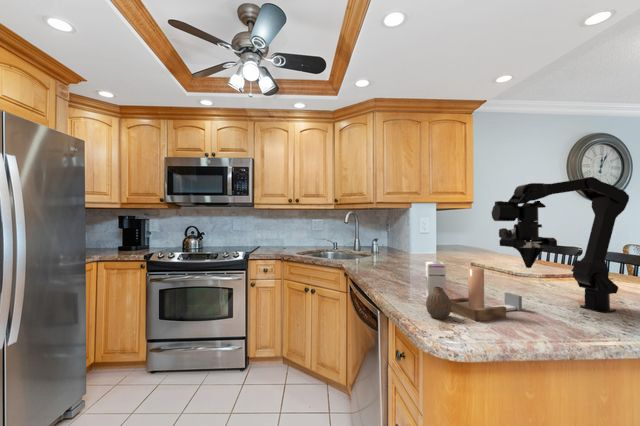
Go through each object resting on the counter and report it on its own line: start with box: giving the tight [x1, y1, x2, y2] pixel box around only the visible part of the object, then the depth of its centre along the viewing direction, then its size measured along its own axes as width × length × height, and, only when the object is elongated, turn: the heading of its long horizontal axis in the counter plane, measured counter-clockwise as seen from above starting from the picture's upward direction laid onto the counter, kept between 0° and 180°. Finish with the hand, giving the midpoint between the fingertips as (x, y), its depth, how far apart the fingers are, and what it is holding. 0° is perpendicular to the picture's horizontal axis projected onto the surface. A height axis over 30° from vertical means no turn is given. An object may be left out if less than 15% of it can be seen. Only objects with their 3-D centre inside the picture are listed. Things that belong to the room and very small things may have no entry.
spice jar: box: [467, 267, 485, 309], centre depth 89 cm, size 4×4×12 cm
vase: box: [425, 287, 452, 320], centre depth 85 cm, size 7×7×9 cm
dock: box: [449, 297, 507, 322], centre depth 88 cm, size 12×12×3 cm
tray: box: [459, 292, 523, 312], centre depth 90 cm, size 20×9×4 cm, turn 106°
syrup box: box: [424, 261, 447, 301], centre depth 96 cm, size 6×6×14 cm
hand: (528, 267), depth 95 cm, fingers closed
